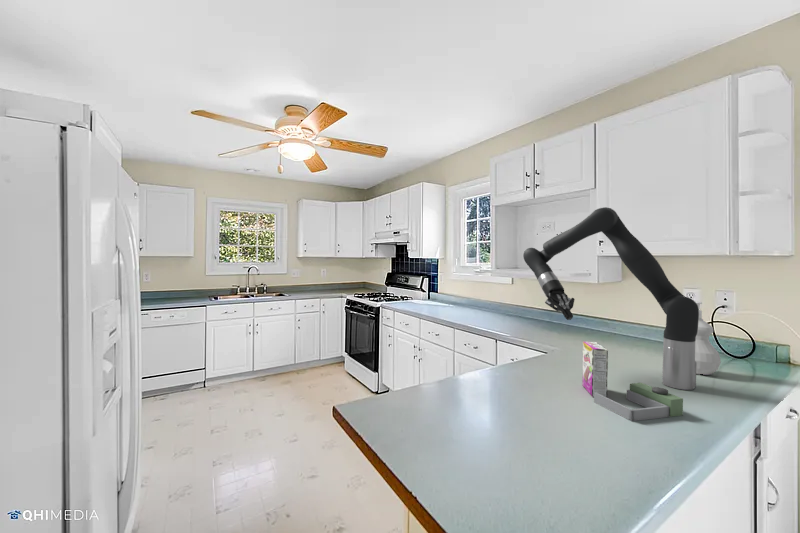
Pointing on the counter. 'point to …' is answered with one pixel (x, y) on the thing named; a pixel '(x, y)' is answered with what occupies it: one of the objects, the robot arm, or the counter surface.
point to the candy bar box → (595, 368)
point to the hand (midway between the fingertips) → (570, 318)
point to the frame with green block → (645, 403)
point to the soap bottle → (705, 348)
